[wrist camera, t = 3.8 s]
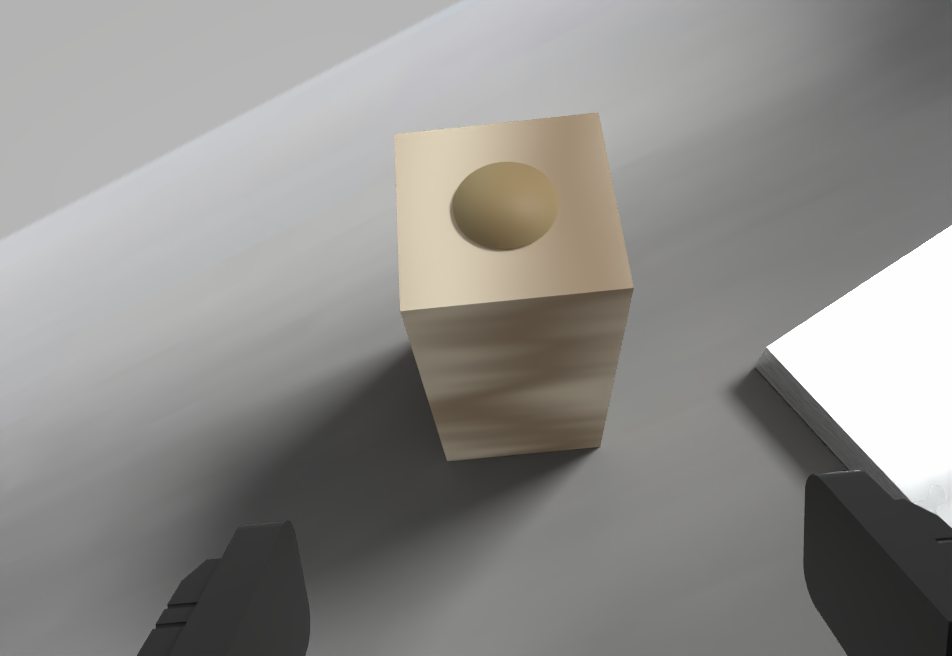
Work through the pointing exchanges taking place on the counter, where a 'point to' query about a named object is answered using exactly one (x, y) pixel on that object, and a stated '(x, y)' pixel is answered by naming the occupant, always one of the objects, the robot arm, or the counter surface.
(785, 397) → the press
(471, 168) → the block
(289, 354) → the counter surface
